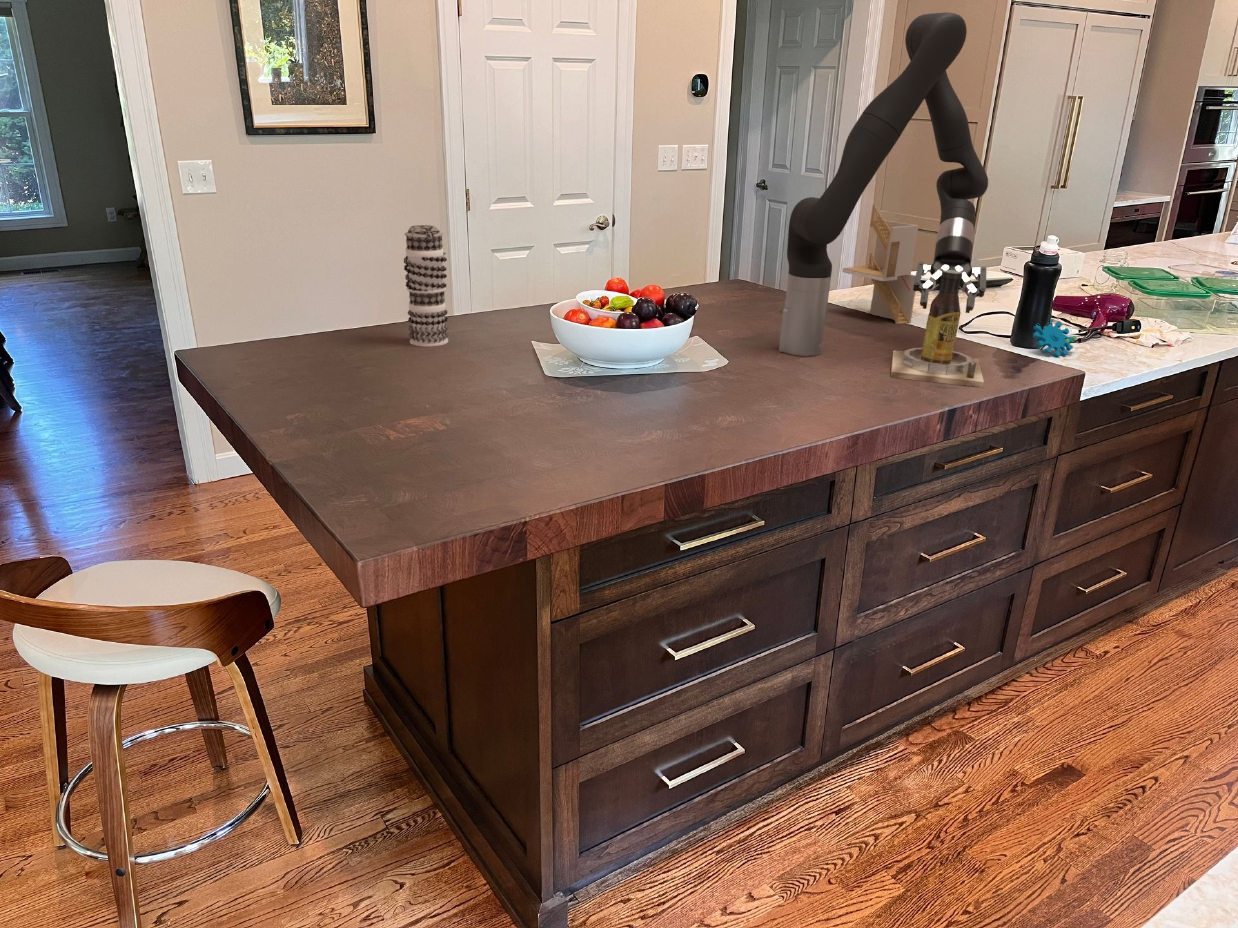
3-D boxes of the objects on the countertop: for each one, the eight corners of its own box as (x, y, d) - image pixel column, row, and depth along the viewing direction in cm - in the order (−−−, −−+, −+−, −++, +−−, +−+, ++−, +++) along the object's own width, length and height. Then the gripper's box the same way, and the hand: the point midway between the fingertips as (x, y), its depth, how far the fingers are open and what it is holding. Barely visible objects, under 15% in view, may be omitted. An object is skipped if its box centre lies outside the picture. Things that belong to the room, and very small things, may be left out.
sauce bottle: (935, 370, 185) (951, 275, 178) (913, 362, 190) (927, 269, 183) (957, 366, 188) (974, 273, 180) (935, 359, 193) (950, 267, 186)
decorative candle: (455, 337, 201) (450, 224, 192) (443, 348, 193) (438, 230, 183) (415, 335, 202) (409, 222, 192) (402, 345, 193) (395, 228, 184)
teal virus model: (1040, 351, 201) (1033, 313, 205) (1024, 363, 207) (1017, 326, 211) (1083, 357, 204) (1075, 320, 207) (1065, 369, 209) (1058, 333, 213)
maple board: (890, 377, 184) (891, 371, 183) (892, 355, 200) (893, 350, 199) (982, 387, 179) (983, 382, 179) (977, 364, 195) (978, 359, 195)
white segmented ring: (902, 370, 184) (904, 356, 183) (903, 353, 197) (905, 340, 196) (973, 378, 181) (976, 364, 180) (970, 361, 193) (972, 347, 192)
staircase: (885, 329, 225) (903, 211, 214) (836, 316, 237) (851, 203, 226) (910, 325, 230) (929, 209, 219) (861, 312, 242) (876, 202, 231)
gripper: (921, 231, 189) (912, 295, 183) (992, 236, 185) (986, 302, 179) (917, 253, 195) (908, 315, 190) (986, 258, 191) (979, 322, 186)
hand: (946, 309), depth 184 cm, fingers open, 8 cm apart
